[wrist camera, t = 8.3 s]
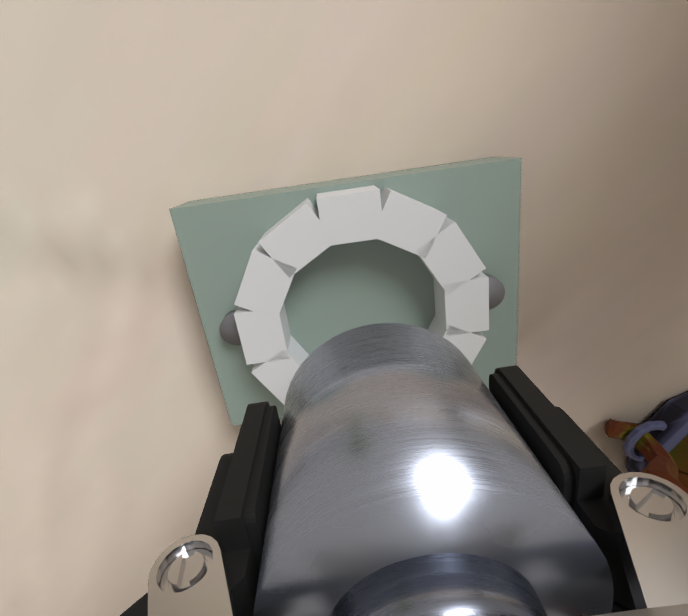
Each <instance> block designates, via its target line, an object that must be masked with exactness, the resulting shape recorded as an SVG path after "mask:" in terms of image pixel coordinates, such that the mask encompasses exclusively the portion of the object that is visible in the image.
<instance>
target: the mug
mask: <svg viewBox="0 0 688 616" xmlns="http://www.w3.org/2000/svg"><path fill="white" fill-rule="evenodd" d="M604 428H605V433H606V434H607V435H608V436H609V437H612V438H619V439H623V440H624V441H625V442H624V444H623V449H624V453H625V455H626V456H628V457H629V459H628V462H627V465H626V469H627V471H628V472H642V473H647V474H652V475H655V476H658V477H660V478H663V479H666V480H668V481H669V482H671V483H673V484H675V485H676V486H678V487H679V488H681V489H682V490H683V491H684V492H685V493H687V494H688V391H687V392H685V393H683V394H681V395H679V396H677V397H675V398H673V399H670V400H668V401H667V402H666V403H665V404H664V405H663V406H662V407H661V408H660V409H659V410H658V411H657V412H656V413H655V414H654V415H653V416H652V417H651V418H650V419H649V420H648V421H647V422H644V423H642V424H640V425H638V424H633V423H628V422H621V421H616V420H612V419H610V420H609V421H608V423H607V424H606V426H605V427H604Z"/></svg>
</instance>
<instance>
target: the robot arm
mask: <svg viewBox="0 0 688 616" xmlns="http://www.w3.org/2000/svg"><path fill="white" fill-rule="evenodd" d="M489 391H490V392H491V393H492V395H493V396H494V398H495V399H496V401H497V402H498V403H499V405H500V406H501V408H502V409H503V411H504V412H505V413H506V415H507V416H508V418H509V419H510V421H511V422H512V423H513V425H514V426H515V428H516V429H517V431H518V432H519V433H520V435H521V436H522V438H523V439H524V441H525V442H526V443H527V445H528V446H529V448H530V449H531V451H532V452H533V453H534V455H535V456H536V458H537V459H538V461H539V462H540V463H541V465H542V466H543V468H544V469H545V471H546V472H547V473H548V475H549V476H550V478H551V479H552V481H553V482H554V483H555V485H556V486H557V488H558V489H559V491H560V492H561V493H562V495H563V496H564V498H565V499H566V501H567V502H568V503H569V505H570V506H571V508H572V509H573V511H574V512H575V513H576V515H577V516H578V518H579V519H580V521H581V522H582V524H583V525H584V526H585V528H586V529H587V531H588V532H589V534H590V535H591V536H592V538H593V539H594V541H595V542H596V544H597V545H598V547H599V548H600V550H601V551H602V553H603V555H604V556H605V558H606V560H607V563H608V565H609V568H610V571H611V574H612V580H613V587H614V595H613V607H612V610H611V613H608V614H601V615H594V616H688V494H687V493H685V492H684V491H683V490H682V489H681V488H679V487H678V486H676V485H675V484H673V483H671V482H669V481H668V480H666V479H663V478H660V477H658V476H655V475H652V474H647V473H642V472H627V473H623V474H622V473H621V472H620V471H619V470H618V469H617V467H616V466H615V465H614V464H613V463H612V462H611V461H610V460H609V459H608V458H607V457H606V456H605V455H604V453H603V452H602V451H601V450H600V449H599V448H598V447H597V446H596V445H595V444H594V443H593V442H592V441H591V440H590V438H589V437H588V436H587V435H586V434H585V433H584V432H583V431H582V430H581V429H580V428H579V427H578V426H577V424H576V423H575V422H574V421H573V420H572V419H571V418H570V417H569V416H568V415H567V414H566V413H565V412H564V411H563V410H562V409H561V408H560V407H554V405H553V404H552V403H551V402H550V401H549V400H548V399H547V398H546V397H545V396H544V394H543V393H542V392H541V391H540V390H539V389H538V388H537V387H536V386H535V385H534V383H533V382H532V381H531V380H530V379H529V378H528V377H527V376H526V375H525V374H524V372H523V371H522V370H521V369H520V368H519V367H518V366H516V365H514V366H507V367H500V368H496V369H495V372H494V374H490V375H489ZM280 431H281V424H280V420H279V415H278V411H277V407H276V406H275V405H273V406H270V404H269V402H268V401H266V402H259V403H252V404H248V406H247V408H246V412H245V415H244V419H243V422H242V425H241V429H240V432H239V436H238V439H237V442H236V446H235V449H234V453H231V454H224V455H223V456H222V457H221V459H220V461H219V464H218V467H217V470H216V473H215V476H214V479H213V482H212V485H211V488H210V491H209V494H208V497H207V500H206V503H205V506H204V509H203V512H202V515H201V518H200V521H199V524H198V527H197V530H196V533H195V535H191V536H188V537H185V538H182V539H181V540H179V541H177V542H175V543H174V544H172V545H171V546H170V547H168V548H167V549H166V550H165V551H164V552H163V553H162V554H161V555H160V556H159V558H158V559H157V560H156V561H155V563H154V565H153V567H152V569H151V571H150V574H149V580H148V593H146V594H145V595H144V596H143V597H142V598H140V599H139V600H138V601H137V602H136V603H134V604H133V605H132V606H131V607H130V608H128V609H127V610H126V611H125V612H124V613H122V614H121V615H120V616H253V611H254V605H255V598H256V591H257V585H258V578H259V571H260V565H261V558H262V551H263V545H264V538H265V531H266V525H267V518H268V511H269V505H270V498H271V491H272V485H273V478H274V471H275V465H276V458H277V451H278V445H279V438H280Z"/></svg>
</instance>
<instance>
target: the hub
mask: <svg viewBox="0 0 688 616" xmlns="http://www.w3.org/2000/svg"><path fill="white" fill-rule="evenodd" d="M613 595H614V587H613V580H612V574H611V571H610V568H609V565H608V563H607V560H606V558H605V556H604V555H603V553H602V551H601V550H600V548H599V547H598V545H597V544H596V542H595V541H594V539H593V538H592V536H591V535H590V534H589V532H588V531H587V529H586V528H585V526H584V525H583V524H582V522H581V521H580V519H579V518H578V516H577V515H576V513H575V512H574V511H573V509H572V508H571V506H570V505H569V503H568V502H567V501H566V499H565V498H564V496H563V495H562V493H561V492H560V491H559V489H558V488H557V486H556V485H555V483H554V482H553V481H552V479H551V478H550V476H549V475H548V473H547V472H546V471H545V469H544V468H543V466H542V465H541V463H540V462H539V461H538V459H537V458H536V456H535V455H534V453H533V452H532V451H531V449H530V448H529V446H528V445H527V443H526V442H525V441H524V439H523V438H522V436H521V435H520V433H519V432H518V431H517V429H516V428H515V426H514V425H513V423H512V422H511V421H510V419H509V418H508V416H507V415H506V413H505V412H504V411H503V409H502V408H501V406H500V405H499V403H498V402H497V401H496V399H495V398H494V396H493V395H492V393H491V392H490V391H489V389H488V388H487V386H486V385H485V383H484V382H483V381H482V379H481V378H480V376H479V375H478V373H477V372H476V371H475V369H474V368H473V366H472V365H471V363H470V362H469V361H468V359H467V358H466V357H465V355H464V354H463V353H462V352H461V351H460V350H459V349H458V348H457V347H456V346H455V345H453V344H452V343H451V342H450V341H448V340H447V339H445V338H444V337H442V336H440V335H439V334H436V333H434V332H432V331H430V330H427V329H424V328H421V327H418V326H414V325H408V324H402V323H378V324H370V325H365V326H360V327H357V328H354V329H351V330H348V331H345V332H343V333H341V334H339V335H337V336H335V337H333V338H331V339H329V340H328V341H326V342H325V343H323V344H322V345H320V346H319V347H318V348H317V349H315V350H314V351H313V352H312V353H311V354H310V355H309V356H308V357H307V358H306V359H305V360H304V361H303V362H302V364H301V365H300V367H299V368H298V370H297V371H296V372H295V374H294V376H293V378H292V380H291V382H290V385H289V388H288V391H287V394H286V399H285V405H284V411H283V418H282V425H281V431H280V438H279V445H278V451H277V458H276V465H275V471H274V478H273V485H272V491H271V498H270V505H269V511H268V518H267V525H266V531H265V538H264V545H263V551H262V558H261V565H260V571H259V578H258V585H257V591H256V598H255V605H254V611H253V616H594V615H601V614H608V613H611V610H612V607H613Z"/></svg>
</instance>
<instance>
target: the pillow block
mask: <svg viewBox="0 0 688 616" xmlns="http://www.w3.org/2000/svg"><path fill="white" fill-rule="evenodd" d="M520 190H521V158H511V157H490V158H483V159H477V160H470V161H463V162H456V163H449V164H442V165H435V166H429V167H422V168H415V169H408V170H401V171H394V172H388V173H381V174H374V175H367V176H360V177H353V178H346V179H340V180H333V181H326V182H319V183H312V184H305V185H298V186H292V187H285V188H278V189H271V190H264V191H257V192H250V193H244V194H237V195H230V196H223V197H216V198H209V199H203V200H196V201H189V202H187V203H184V204H182V205H179V206H176V207H174V208H171V209H169V210H170V214H171V217H172V221H173V224H174V228H175V231H176V235H177V238H178V241H179V245H180V248H181V252H182V255H183V259H184V262H185V266H186V269H187V272H188V276H189V279H190V283H191V286H192V290H193V293H194V297H195V300H196V303H197V307H198V310H199V314H200V317H201V321H202V324H203V328H204V331H205V334H206V338H207V341H208V345H209V348H210V352H211V355H212V359H213V362H214V365H215V369H216V372H217V376H218V379H219V383H220V386H221V390H222V393H223V397H224V400H225V403H226V407H227V410H228V414H229V417H230V421H231V424H232V426H235V425H242V422H243V419H244V415H245V412H246V408H247V406H248V404H252V403H259V402H266V401H268V402H269V404H270V406H273V405H275V406H276V407H277V411H278V415H279V419H282V418H283V411H284V405H285V399H286V394H287V391H288V388H289V385H290V382H291V380H292V378H293V376H294V374H295V372H296V371H297V370H298V368H299V367H300V365H301V364H302V362H303V361H304V360H305V359H306V358H307V357H308V356H309V355H310V354H311V353H312V352H313V351H314V350H315V349H317V348H318V347H319V346H320V345H322V344H323V343H325V342H326V341H328V340H329V339H331V338H333V337H335V336H337V335H339V334H341V333H343V332H345V331H348V330H351V329H354V328H357V327H360V326H365V325H370V324H378V323H402V324H408V325H414V326H418V327H421V328H424V329H427V330H430V331H432V332H434V333H436V334H439V335H440V336H442V337H444V338H445V339H447V340H448V341H450V342H451V343H452V344H453V345H455V346H456V347H457V348H458V349H459V350H460V351H461V352H462V353H463V354H464V355H465V357H466V358H467V359H468V361H469V362H470V363H471V365H472V366H473V368H474V369H475V371H476V372H477V373H478V375H479V376H480V378H481V379H482V381H483V382H484V383H485V385H486V386H487V388H488V389H489V375H490V374H494V372H495V369H496V368H500V367H507V366H514V365H516V355H517V314H518V273H519V232H520Z"/></svg>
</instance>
